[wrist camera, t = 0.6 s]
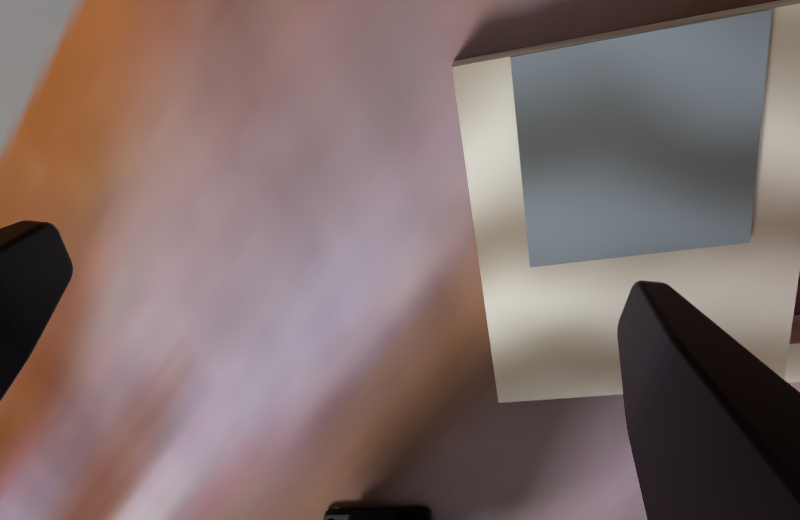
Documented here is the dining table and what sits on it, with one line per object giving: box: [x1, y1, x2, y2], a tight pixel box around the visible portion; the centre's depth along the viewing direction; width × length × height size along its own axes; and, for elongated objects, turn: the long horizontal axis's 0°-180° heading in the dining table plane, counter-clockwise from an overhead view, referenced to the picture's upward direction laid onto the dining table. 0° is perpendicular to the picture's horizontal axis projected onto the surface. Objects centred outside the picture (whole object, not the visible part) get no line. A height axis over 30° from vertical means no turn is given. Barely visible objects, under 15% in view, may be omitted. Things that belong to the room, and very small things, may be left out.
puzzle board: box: [452, 0, 800, 403], centre depth 21 cm, size 15×22×2 cm
